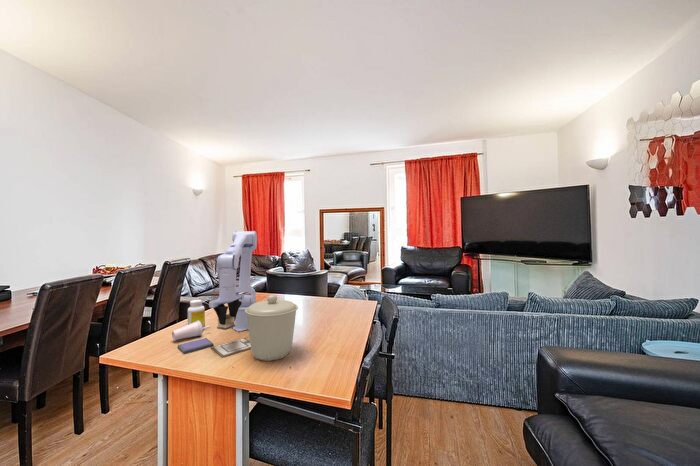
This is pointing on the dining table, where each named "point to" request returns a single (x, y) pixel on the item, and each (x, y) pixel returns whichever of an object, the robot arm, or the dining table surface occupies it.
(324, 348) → the dining table surface
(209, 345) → the ink tray
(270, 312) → the canister
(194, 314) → the supplement bottle
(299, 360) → the dining table surface
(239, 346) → the clipboard
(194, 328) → the smoothie
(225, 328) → the stamp
